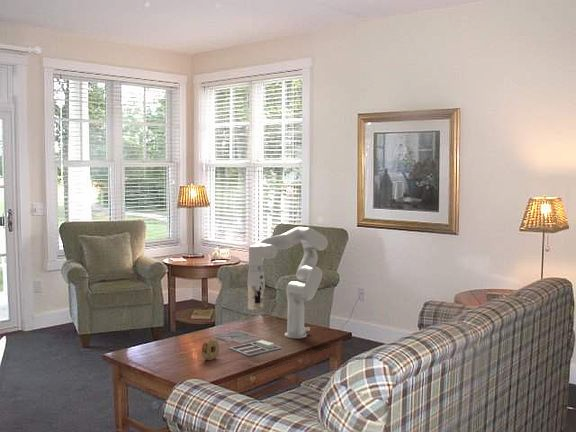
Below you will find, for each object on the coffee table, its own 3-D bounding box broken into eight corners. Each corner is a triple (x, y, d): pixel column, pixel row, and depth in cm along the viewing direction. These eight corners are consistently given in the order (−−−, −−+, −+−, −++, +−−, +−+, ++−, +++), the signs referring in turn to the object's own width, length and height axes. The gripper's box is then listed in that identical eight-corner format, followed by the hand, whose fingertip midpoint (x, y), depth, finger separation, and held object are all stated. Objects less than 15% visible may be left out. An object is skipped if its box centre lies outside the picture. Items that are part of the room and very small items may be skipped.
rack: (261, 343, 343) (261, 340, 342) (281, 351, 330) (281, 347, 330) (228, 351, 328) (228, 347, 328) (248, 359, 316) (248, 355, 315)
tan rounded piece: (206, 362, 309) (206, 342, 308) (200, 361, 311) (200, 341, 310) (220, 357, 317) (220, 338, 317) (215, 356, 320) (215, 336, 319)
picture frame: (215, 338, 354) (240, 346, 339) (215, 334, 354) (240, 342, 338) (238, 333, 366) (263, 341, 350) (238, 329, 365) (263, 336, 350)
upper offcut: (262, 343, 338) (262, 340, 338) (273, 347, 332) (273, 343, 332) (256, 345, 335) (256, 341, 334) (268, 348, 329) (268, 345, 329)
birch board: (259, 306, 340) (259, 284, 339) (263, 307, 337) (263, 285, 336) (247, 308, 334) (248, 286, 333) (251, 309, 332) (251, 287, 331)
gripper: (270, 269, 330) (270, 304, 332) (252, 265, 343) (251, 298, 344) (259, 271, 325) (259, 306, 327) (240, 267, 338) (240, 300, 339)
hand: (255, 302), depth 336 cm, fingers closed on birch board, 3 cm apart
